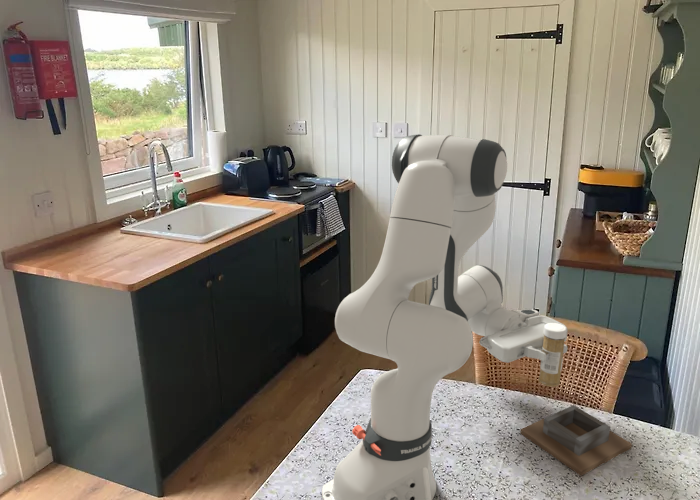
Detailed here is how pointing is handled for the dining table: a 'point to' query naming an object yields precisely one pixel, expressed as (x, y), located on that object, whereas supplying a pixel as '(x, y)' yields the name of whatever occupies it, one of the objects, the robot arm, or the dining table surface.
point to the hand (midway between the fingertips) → (556, 353)
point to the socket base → (576, 439)
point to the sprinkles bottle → (552, 354)
